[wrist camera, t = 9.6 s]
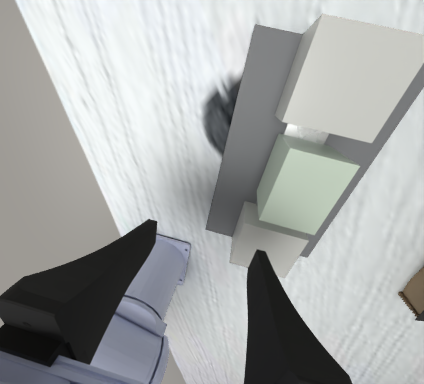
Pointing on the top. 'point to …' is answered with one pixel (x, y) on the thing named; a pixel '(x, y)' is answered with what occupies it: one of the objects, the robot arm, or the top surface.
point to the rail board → (281, 132)
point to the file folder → (415, 295)
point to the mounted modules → (333, 108)
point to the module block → (302, 183)
